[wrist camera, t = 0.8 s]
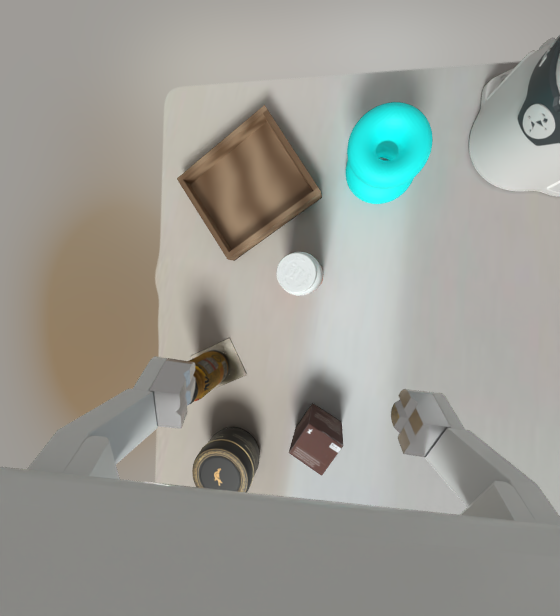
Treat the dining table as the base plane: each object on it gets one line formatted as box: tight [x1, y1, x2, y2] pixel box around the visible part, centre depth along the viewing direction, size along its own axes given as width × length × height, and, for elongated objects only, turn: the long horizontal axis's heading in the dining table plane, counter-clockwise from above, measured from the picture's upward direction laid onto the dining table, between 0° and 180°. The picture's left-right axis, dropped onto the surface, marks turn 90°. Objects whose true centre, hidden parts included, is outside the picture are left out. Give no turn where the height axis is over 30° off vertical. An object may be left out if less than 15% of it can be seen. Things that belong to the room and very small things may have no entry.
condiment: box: [188, 338, 246, 405], centre depth 46 cm, size 7×8×12 cm
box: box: [289, 403, 343, 475], centre depth 45 cm, size 6×6×7 cm
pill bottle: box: [277, 252, 323, 296], centre depth 42 cm, size 6×6×11 cm
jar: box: [193, 427, 259, 493], centre depth 49 cm, size 10×10×8 cm
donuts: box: [346, 102, 432, 204], centre depth 39 cm, size 10×10×10 cm
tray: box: [177, 105, 322, 261], centre depth 46 cm, size 18×16×3 cm
